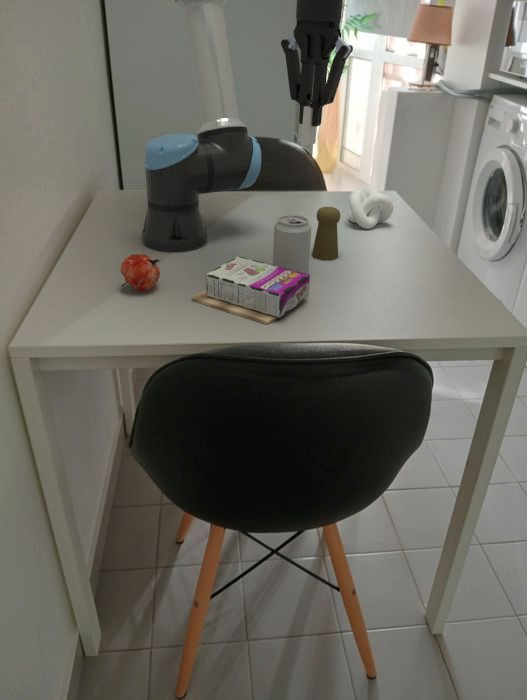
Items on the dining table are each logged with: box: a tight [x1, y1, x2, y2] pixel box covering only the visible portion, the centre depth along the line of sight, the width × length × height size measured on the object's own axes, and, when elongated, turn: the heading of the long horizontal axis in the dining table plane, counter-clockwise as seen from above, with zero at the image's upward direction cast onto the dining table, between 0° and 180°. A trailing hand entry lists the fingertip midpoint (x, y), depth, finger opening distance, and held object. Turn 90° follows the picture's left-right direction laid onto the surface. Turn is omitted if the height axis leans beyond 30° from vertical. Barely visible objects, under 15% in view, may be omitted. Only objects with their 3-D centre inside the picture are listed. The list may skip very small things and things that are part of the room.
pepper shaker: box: [311, 206, 341, 261], centre depth 135 cm, size 6×6×11 cm
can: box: [272, 214, 312, 274], centre depth 125 cm, size 8×8×12 cm
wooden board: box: [191, 288, 279, 325], centre depth 117 cm, size 17×15×1 cm
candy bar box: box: [205, 255, 311, 319], centre depth 115 cm, size 11×5×16 cm
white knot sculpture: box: [347, 186, 394, 230], centre depth 156 cm, size 11×12×9 cm
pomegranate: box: [119, 253, 161, 292], centre depth 118 cm, size 7×7×10 cm
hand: (308, 143), depth 111 cm, fingers closed
